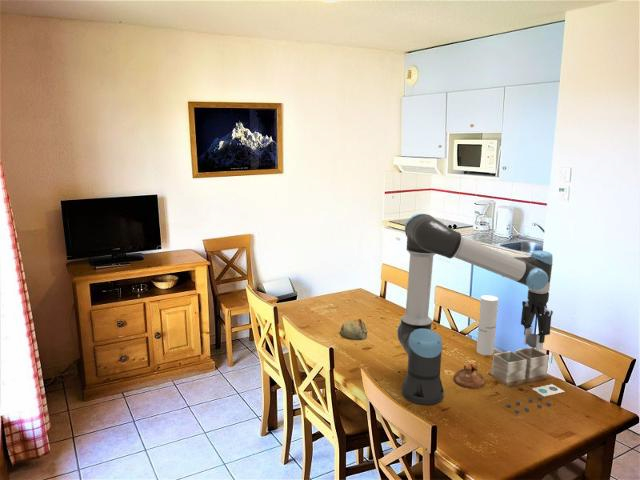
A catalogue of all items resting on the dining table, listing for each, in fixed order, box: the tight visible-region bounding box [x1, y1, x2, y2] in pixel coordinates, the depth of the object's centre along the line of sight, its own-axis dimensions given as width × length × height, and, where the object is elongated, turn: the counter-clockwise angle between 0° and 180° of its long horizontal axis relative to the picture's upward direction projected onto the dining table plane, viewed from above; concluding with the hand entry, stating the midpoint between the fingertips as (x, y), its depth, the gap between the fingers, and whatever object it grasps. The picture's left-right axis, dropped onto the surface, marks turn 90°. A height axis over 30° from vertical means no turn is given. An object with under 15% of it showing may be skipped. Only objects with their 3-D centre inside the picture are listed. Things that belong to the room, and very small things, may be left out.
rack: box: [488, 346, 551, 388], centre depth 199 cm, size 21×11×9 cm, turn 111°
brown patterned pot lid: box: [453, 362, 486, 390], centre depth 195 cm, size 12×12×7 cm
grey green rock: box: [340, 318, 368, 341], centre depth 239 cm, size 14×12×8 cm
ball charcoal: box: [526, 333, 538, 349], centre depth 199 cm, size 6×6×6 cm
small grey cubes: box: [505, 395, 552, 415], centre depth 178 cm, size 15×5×1 cm, turn 111°
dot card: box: [531, 383, 565, 397], centre depth 189 cm, size 10×6×1 cm, turn 111°
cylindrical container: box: [476, 294, 499, 356], centre depth 219 cm, size 7×7×25 cm
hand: (533, 346), depth 200 cm, fingers closed on ball charcoal, 5 cm apart
